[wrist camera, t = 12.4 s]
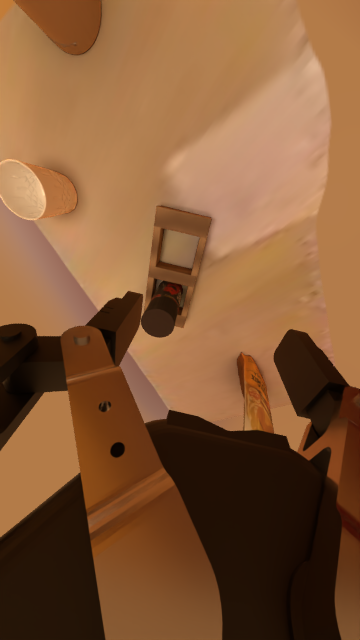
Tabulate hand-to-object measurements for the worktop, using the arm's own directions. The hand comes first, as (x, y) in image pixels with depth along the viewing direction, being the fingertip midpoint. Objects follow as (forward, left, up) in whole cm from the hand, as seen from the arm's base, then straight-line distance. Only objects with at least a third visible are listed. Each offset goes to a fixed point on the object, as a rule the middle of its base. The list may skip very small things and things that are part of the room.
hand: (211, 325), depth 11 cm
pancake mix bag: (+34, +22, -34) cm, 53 cm away
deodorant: (+14, -5, -34) cm, 37 cm away
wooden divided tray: (+9, -5, -34) cm, 36 cm away
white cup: (-1, -30, -34) cm, 46 cm away
